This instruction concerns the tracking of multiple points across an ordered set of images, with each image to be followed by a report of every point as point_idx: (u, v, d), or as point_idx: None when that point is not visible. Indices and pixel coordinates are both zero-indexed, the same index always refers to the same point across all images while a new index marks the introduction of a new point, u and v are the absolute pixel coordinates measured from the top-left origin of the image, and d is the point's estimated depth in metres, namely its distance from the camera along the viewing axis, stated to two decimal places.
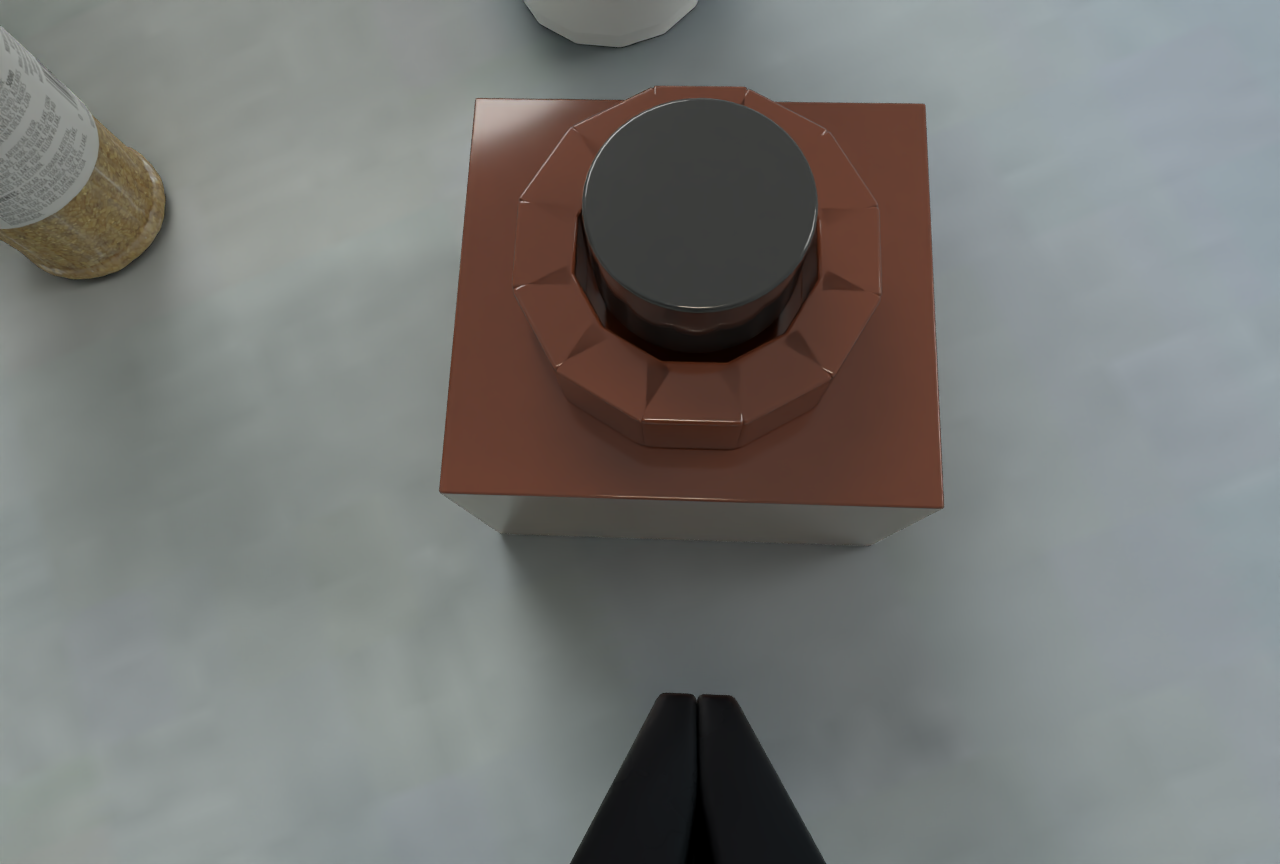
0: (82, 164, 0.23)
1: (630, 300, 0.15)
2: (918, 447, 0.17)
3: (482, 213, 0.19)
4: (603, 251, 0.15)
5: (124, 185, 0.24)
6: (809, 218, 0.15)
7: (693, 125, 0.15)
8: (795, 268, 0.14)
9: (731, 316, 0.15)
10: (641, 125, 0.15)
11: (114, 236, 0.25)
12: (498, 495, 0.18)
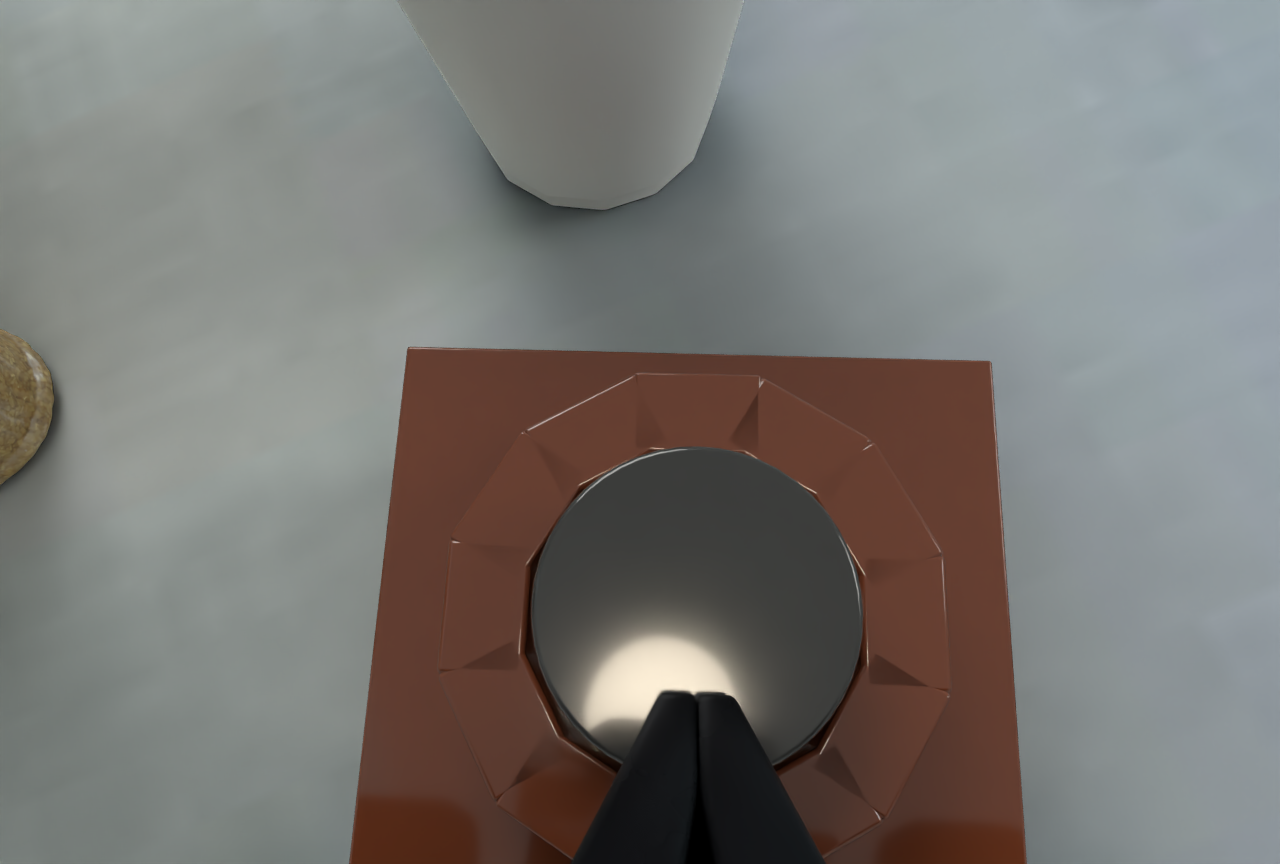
0: None
1: None
2: (995, 863, 0.13)
3: (412, 509, 0.14)
4: (559, 684, 0.10)
5: None
6: (851, 638, 0.10)
7: (687, 489, 0.11)
8: (832, 713, 0.10)
9: None
10: (615, 488, 0.11)
11: None
12: None
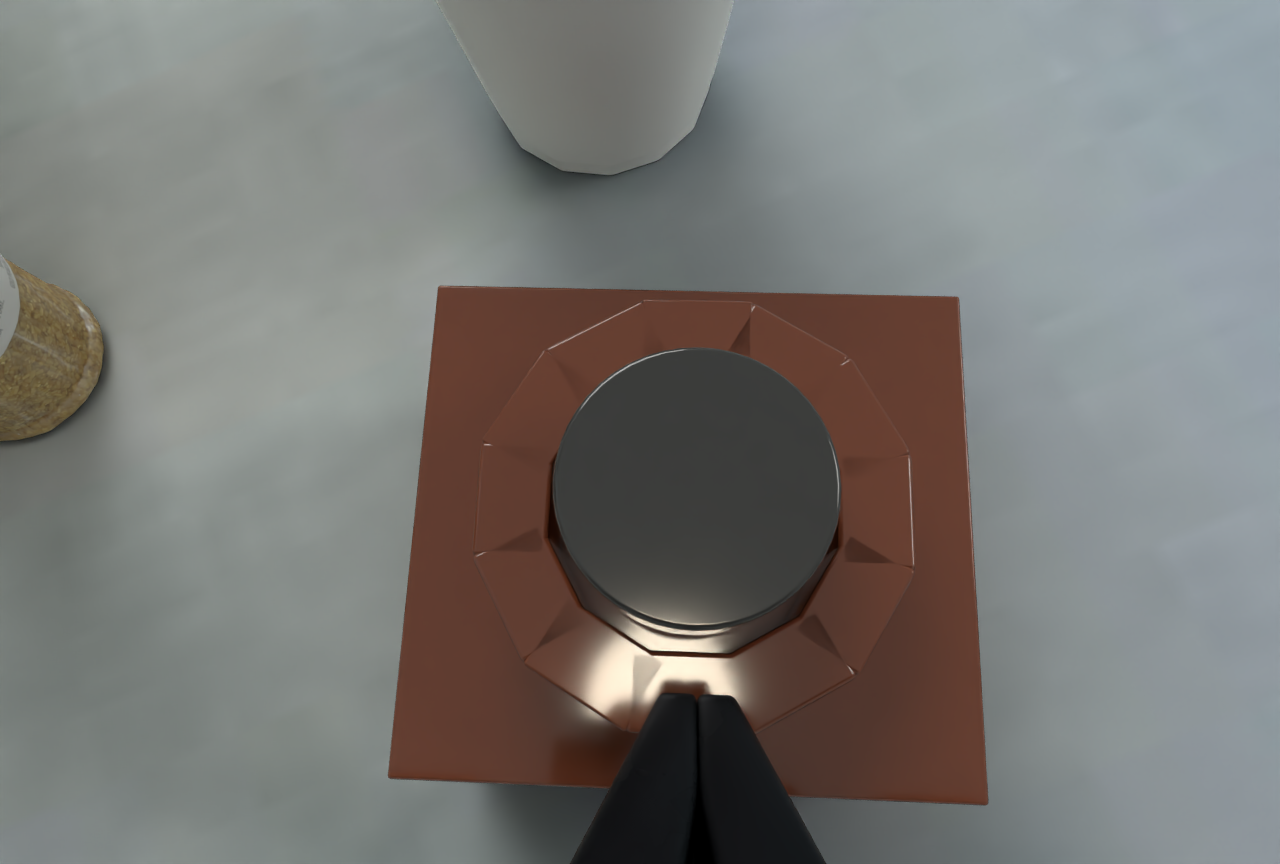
0: None
1: (612, 603, 0.12)
2: (956, 727, 0.15)
3: (444, 427, 0.16)
4: (578, 547, 0.12)
5: (51, 344, 0.22)
6: (831, 507, 0.12)
7: (689, 383, 0.12)
8: (814, 571, 0.12)
9: (735, 626, 0.12)
10: (626, 382, 0.12)
11: (41, 399, 0.22)
12: (457, 781, 0.15)
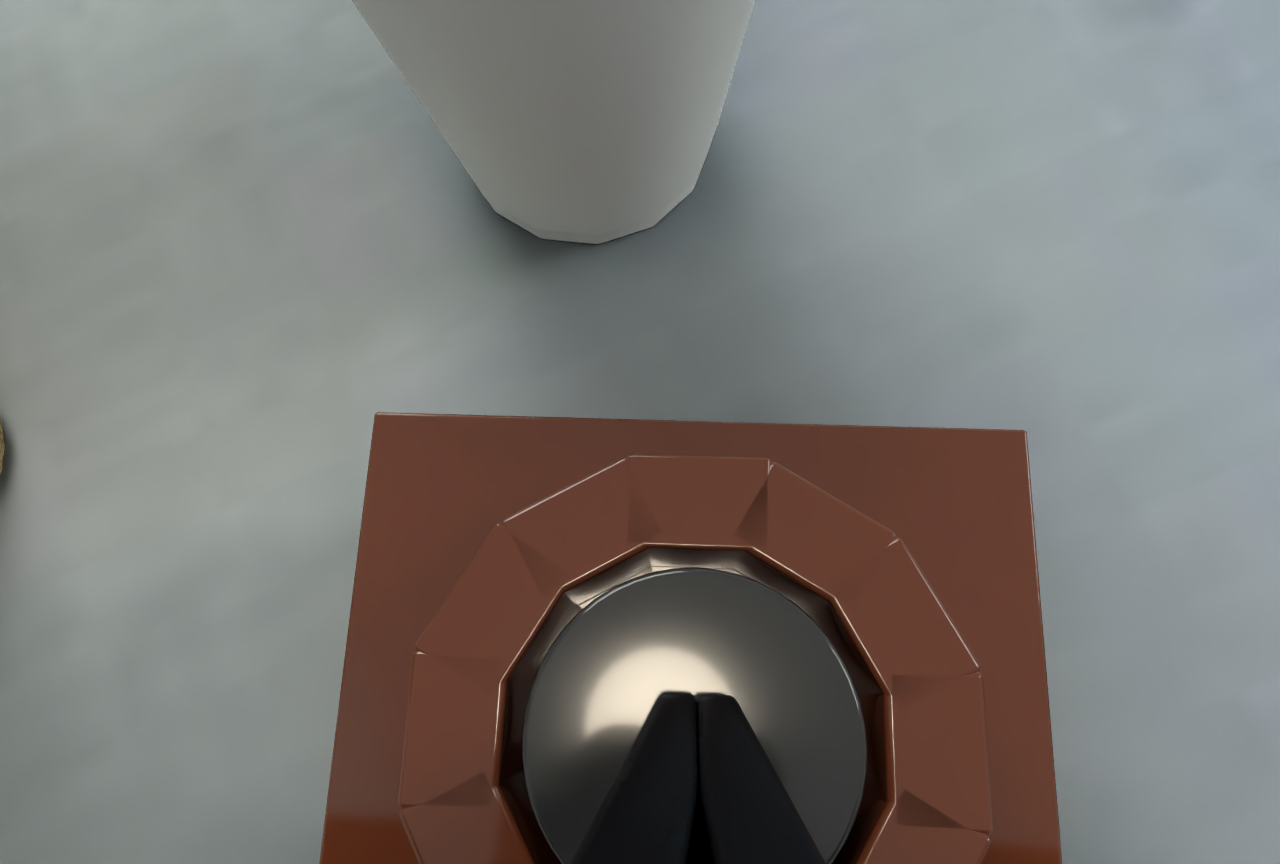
0: None
1: None
2: None
3: (377, 598, 0.13)
4: (552, 825, 0.10)
5: None
6: (855, 776, 0.10)
7: (685, 615, 0.10)
8: (835, 856, 0.10)
9: None
10: (610, 613, 0.10)
11: None
12: None
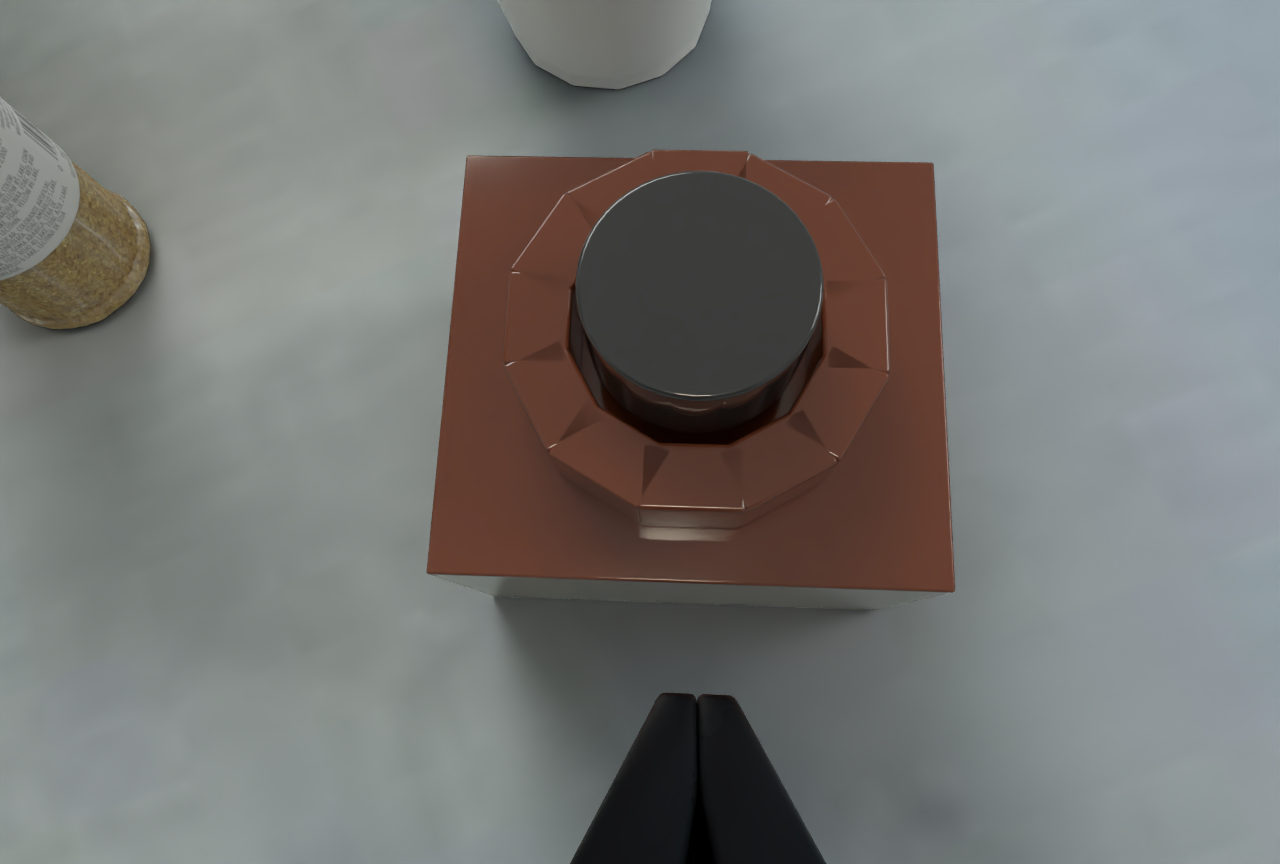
0: (62, 216, 0.22)
1: (626, 385, 0.14)
2: (928, 527, 0.17)
3: (473, 277, 0.18)
4: (598, 334, 0.14)
5: (106, 234, 0.24)
6: (814, 300, 0.14)
7: (692, 200, 0.14)
8: (800, 353, 0.14)
9: (732, 402, 0.14)
10: (638, 199, 0.14)
11: (96, 286, 0.24)
12: (487, 576, 0.17)
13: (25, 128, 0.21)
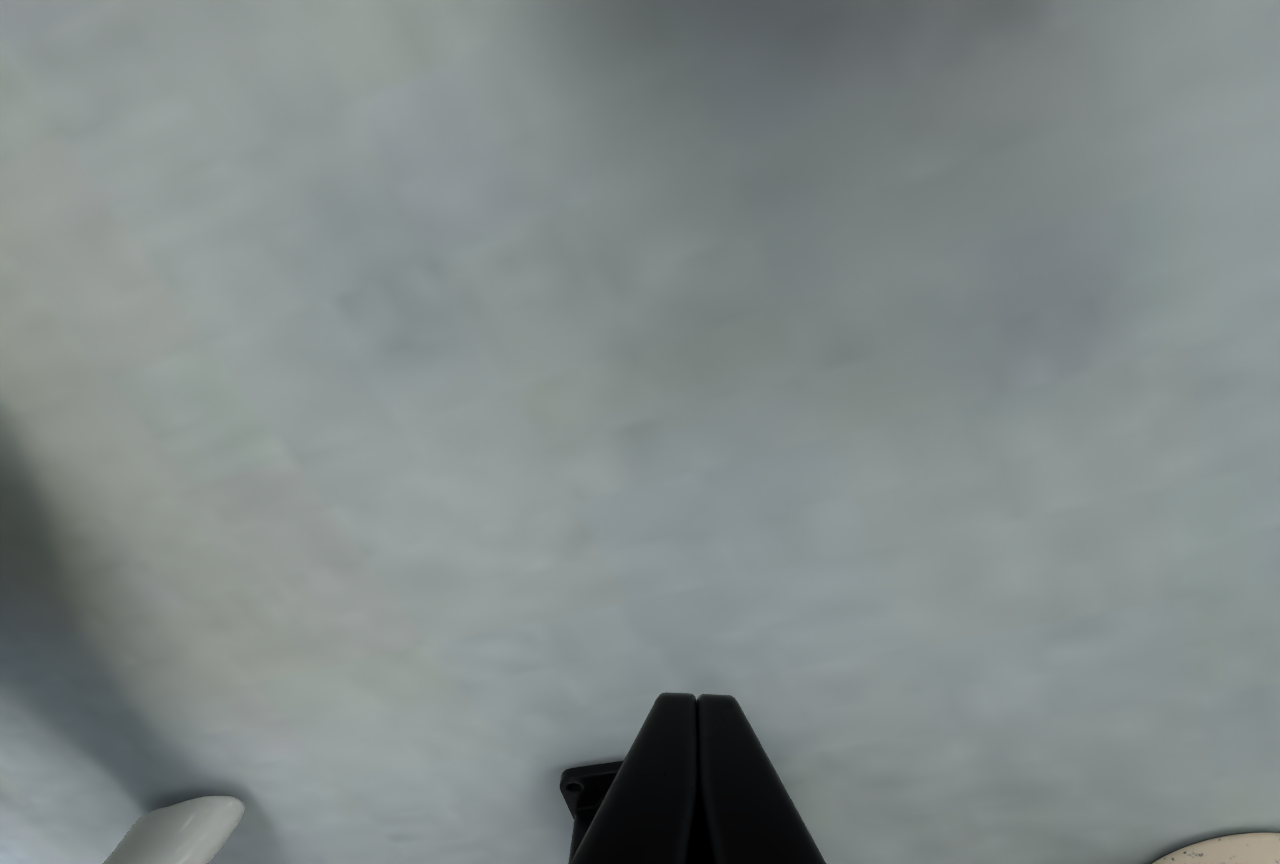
0: None
1: None
2: None
3: None
4: None
5: None
6: None
7: None
8: None
9: None
10: None
11: None
12: None
13: None
